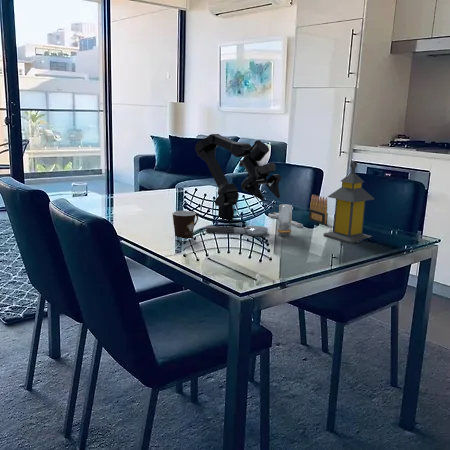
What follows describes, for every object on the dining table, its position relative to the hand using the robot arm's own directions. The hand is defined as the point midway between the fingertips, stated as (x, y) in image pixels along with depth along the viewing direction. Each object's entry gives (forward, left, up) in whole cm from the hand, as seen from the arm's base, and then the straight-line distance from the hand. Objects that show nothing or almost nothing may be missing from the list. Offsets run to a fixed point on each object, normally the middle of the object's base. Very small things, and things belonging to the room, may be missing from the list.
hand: (271, 198), depth 198 cm
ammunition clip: (+21, +19, -14) cm, 32 cm away
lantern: (+30, -5, -14) cm, 34 cm away
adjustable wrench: (+7, +19, -14) cm, 25 cm away
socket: (+5, -6, -13) cm, 15 cm away
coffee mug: (-32, -17, -14) cm, 38 cm away
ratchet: (-13, -5, -13) cm, 19 cm away
